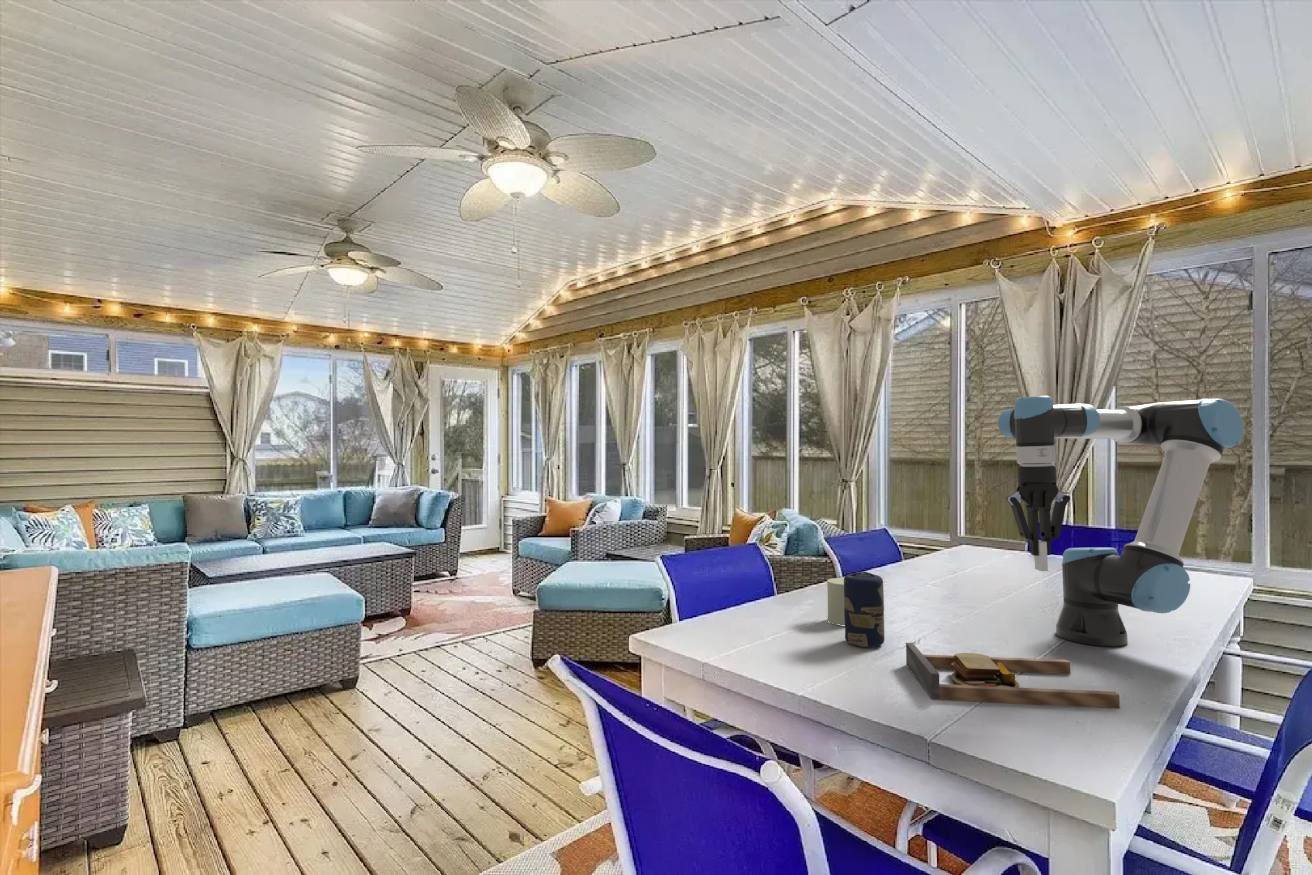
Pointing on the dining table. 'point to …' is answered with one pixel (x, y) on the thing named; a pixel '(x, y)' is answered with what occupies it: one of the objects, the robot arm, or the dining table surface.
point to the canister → (864, 609)
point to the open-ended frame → (929, 680)
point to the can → (836, 601)
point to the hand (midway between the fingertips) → (1041, 569)
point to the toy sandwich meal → (981, 671)
